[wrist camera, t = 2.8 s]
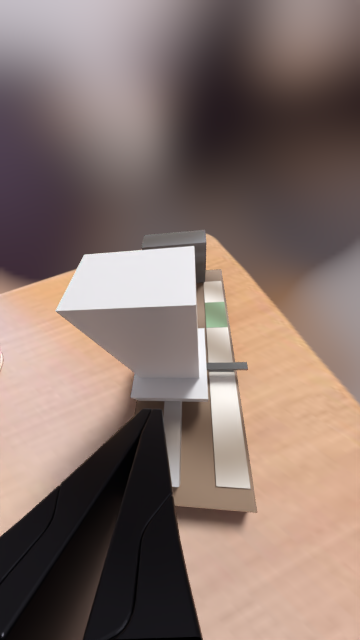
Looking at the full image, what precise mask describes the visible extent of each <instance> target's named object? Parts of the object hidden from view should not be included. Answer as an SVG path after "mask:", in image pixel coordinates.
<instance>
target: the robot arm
mask: <svg viewBox="0 0 360 640" xmlns="http://www.w3.org/2000/svg"><path fill="white" fill-rule="evenodd" d="M0 640H203V638H202V633H201V629H200V625H199V621H198V616H197V612H196V608H195V604H194V599H193V595H192V591H191V587H190V582H189V578H188V574H187V569H186V565H185V560H184V555H183V550H182V546H181V541H180V535H179V529H178V523H177V517H176V510H175V502H174V496H173V488H172V481H171V473H170V466H169V458H168V450H167V443H166V435H165V428H164V420H163V412H162V409H153V410H152V409H148V408H144V409H142V410H141V411H139V412H138V413H137V414H136V415H135V416H134V417H133V418H132V419H131V420H130V421H129V422H127V423H126V424H125V425H124V426H123V427H122V428H121V429H120V430H119V431H118V432H116V433H115V434H114V435H113V436H112V437H111V438H110V439H109V440H108V441H107V442H106V443H104V444H103V445H102V446H101V447H100V448H99V449H98V450H97V451H96V452H95V453H94V454H92V455H91V456H90V457H89V458H88V459H87V460H86V461H85V462H84V463H83V464H82V465H80V466H79V467H78V468H77V469H76V470H75V471H74V472H73V473H72V474H71V475H70V476H68V477H67V478H66V479H65V480H64V481H63V482H62V483H61V485H60V486H57V487H56V488H55V489H54V490H53V491H52V492H51V493H50V494H49V495H48V496H47V497H45V498H44V499H43V500H42V501H41V502H40V503H39V504H38V505H36V506H35V507H34V508H33V509H32V510H31V511H30V512H29V513H27V514H26V515H25V516H24V517H23V518H22V519H21V520H20V521H18V522H17V523H16V524H15V525H14V526H12V527H11V528H10V529H9V530H8V531H6V532H5V533H4V534H3V535H2V536H1V537H0Z"/></svg>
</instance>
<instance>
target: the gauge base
mask: <svg viewBox="0 0 360 640" xmlns="http://www.w3.org/2000/svg"><path fill="white" fill-rule="evenodd" d="M187 246H194V248H195V273H196V298H197V323H198V328H204V331H205V350H206V363H227V362H235V359H234V352H233V345H232V338H231V332H230V325H229V318H228V311H227V305H226V298H225V291H224V284H223V278H222V271H221V269H218V270H206V234H205V230H198V231H186V232H175V233H165V234H153V235H145V236H144V239H143V243H142V247H141V248H142V250H150V249H162V248H175V247H187ZM207 386H208V402H184V401H138V400H137V403H136V410H135V415H136V414H137V413H138V412H139V411H141V410H142V409H144V408H148V409H152V410H153V409H162V412H163V420H164V428H165V435H166V443H167V450H168V458H169V466H170V473H171V481H172V488H173V496H174V502H175V506H184V507H195V508H207V509H219V510H230V511H242V512H253V513H257V507H256V501H255V494H254V487H253V480H252V474H251V467H250V460H249V453H248V447H247V440H246V433H245V426H244V419H243V413H242V406H241V399H240V392H239V386H238V379H237V372H236V370H207Z"/></svg>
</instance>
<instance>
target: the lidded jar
mask: <svg viewBox="0 0 360 640" xmlns="http://www.w3.org/2000/svg"><path fill="white" fill-rule="evenodd" d="M2 364H3V354H2V352H1V347H0V370H1V368H2Z"/></svg>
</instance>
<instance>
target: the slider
mask: <svg viewBox="0 0 360 640" xmlns="http://www.w3.org/2000/svg"><path fill="white" fill-rule="evenodd" d="M56 312H57V313H59V314H60V315H61V316H62V317H64V318H65V319H66V320H67V321H69V322H70V323H71V324H73V325H74V326H75V327H76V328H78V329H79V330H80V331H82V332H83V333H84V334H85V335H87V336H88V337H89V338H91V339H92V340H93V341H94V342H96V343H97V344H98V345H99V346H101V347H102V348H103V349H105V350H106V351H107V352H108V353H110V354H111V355H112V356H114V357H115V358H116V359H117V360H119V361H120V362H121V363H123V364H124V365H125V366H126V367H128V368H129V369H130V370H131V371H133V372H134V373H135V374H134V380H133V386H132V392H131V398H133V399H135V400H138V401H184V402H208V386H207V370H248V367H247V362H227V363H206V350H205V331H204V328H198V323H197V298H196V273H195V248H194V246H187V247H175V248H162V249H150V250H138V251H126V252H113V253H101V254H89V255H84V256H83V258H82V260H81V262H80V264H79V266H78V268H77V270H76V272H75V274H74V276H73V278H72V280H71V282H70V284H69V285H68V287H67V289H66V291H65V293H64V295H63V297H62V299H61V301H60V303H59V305H58V307H57V309H56Z"/></svg>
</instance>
